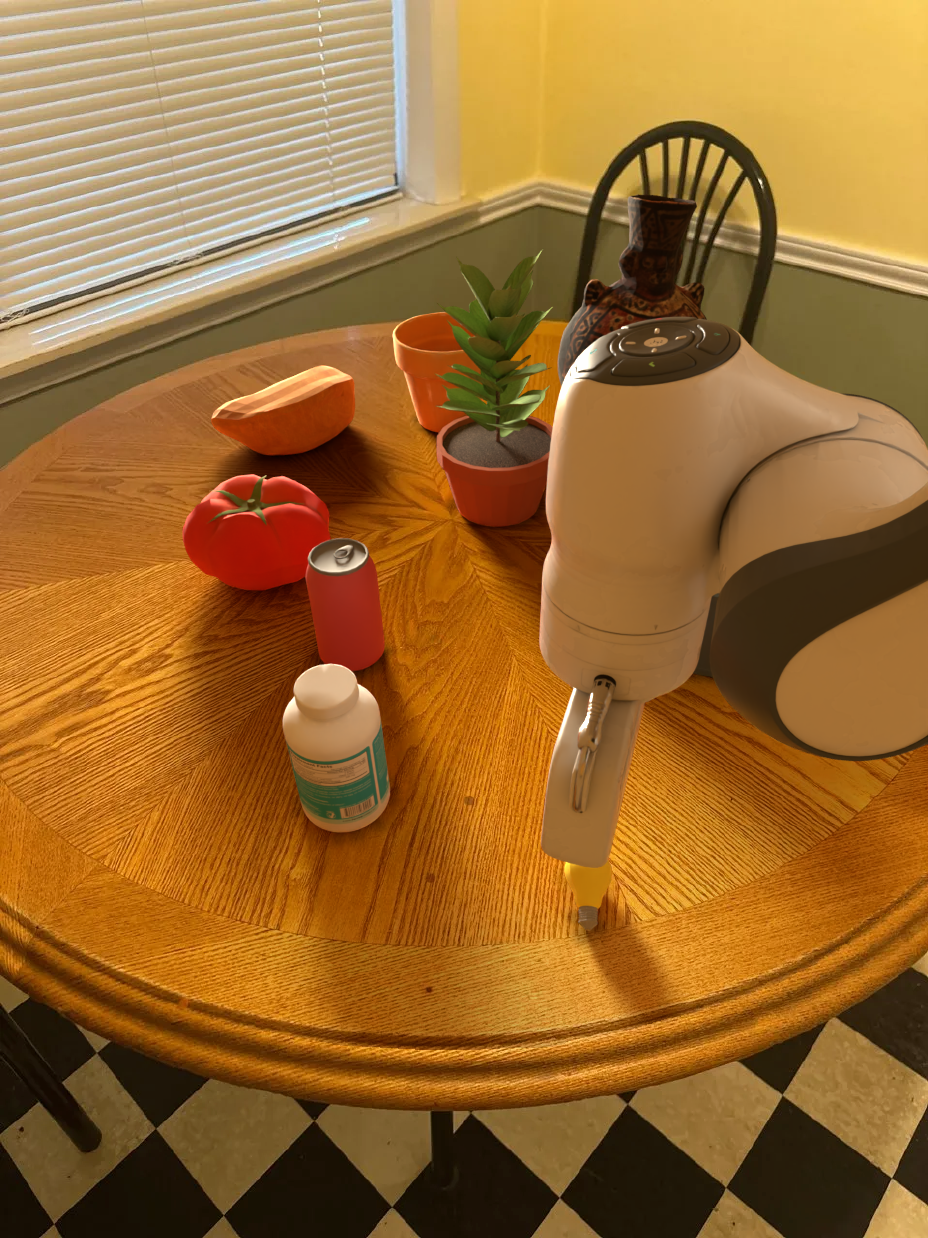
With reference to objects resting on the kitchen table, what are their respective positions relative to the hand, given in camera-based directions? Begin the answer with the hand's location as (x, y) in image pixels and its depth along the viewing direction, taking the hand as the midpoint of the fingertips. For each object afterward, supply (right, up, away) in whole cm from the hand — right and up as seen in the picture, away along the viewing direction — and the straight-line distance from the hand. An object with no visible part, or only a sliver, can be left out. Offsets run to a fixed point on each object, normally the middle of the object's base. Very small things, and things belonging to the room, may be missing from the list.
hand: (600, 785), depth 56 cm
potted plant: (-5, +25, +50) cm, 56 cm away
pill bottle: (-19, -5, +16) cm, 25 cm away
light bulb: (0, -10, +9) cm, 13 cm away
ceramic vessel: (+14, +38, +65) cm, 77 cm away
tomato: (-31, +16, +41) cm, 54 cm away
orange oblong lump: (-34, +36, +65) cm, 82 cm away
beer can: (-20, +7, +30) cm, 37 cm away
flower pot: (-11, +39, +68) cm, 79 cm away
